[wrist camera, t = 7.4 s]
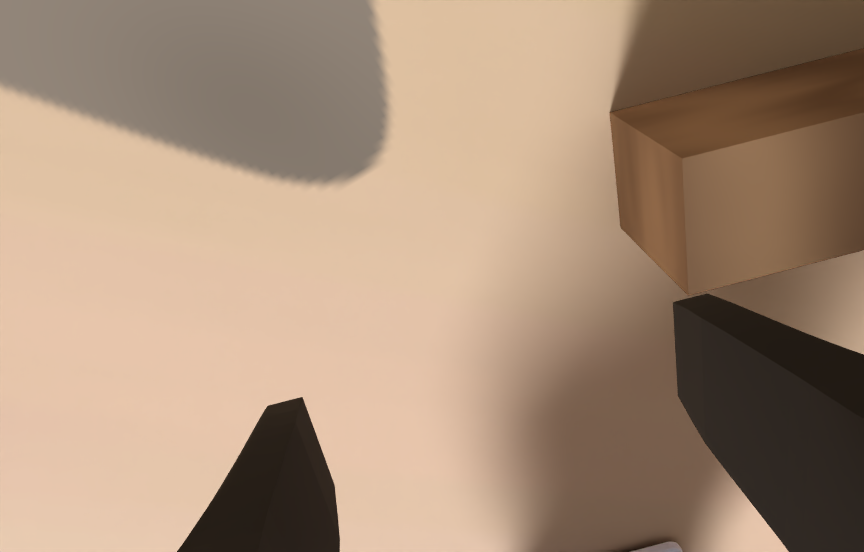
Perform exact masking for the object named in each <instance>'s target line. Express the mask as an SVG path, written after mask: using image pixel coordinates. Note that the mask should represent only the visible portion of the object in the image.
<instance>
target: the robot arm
mask: <svg viewBox="0 0 864 552" xmlns="http://www.w3.org/2000/svg"><path fill="white" fill-rule="evenodd" d="M673 312H674V331H675V349H676V368H677V387H678V397H679V398H680V400H681V402H682V404H683V406H684V407H685V409H686V411H687V413H688V415H689V416H690V418H691V420H692V422H693V423H694V425H695V427H696V428H697V430H698V432H699V433H700V435H701V437H702V438H703V440H704V442H705V443H706V445H707V446H708V447H709V449H710V450H711V451H712V453H713V454H714V455H715V457H716V458H717V459H718V461H719V462H720V463H721V464H722V466H723V467H724V468H725V470H726V471H727V472H728V474H729V475H730V476H731V478H732V479H733V480H734V481H735V483H736V484H737V485H738V487H739V488H740V489H741V490H742V492H743V493H744V494H745V495H746V497H747V498H748V499H749V501H750V502H751V503H752V504H753V506H754V507H755V508H756V510H757V511H758V512H759V513H760V515H761V516H762V517H763V519H764V520H765V521H766V522H767V524H768V525H769V526H770V527H771V529H772V530H773V531H774V533H775V534H776V535H777V536H778V538H779V539H780V540H781V542H782V543H783V544H784V545H785V547H786V548H787V550H788V551H789V552H864V355H863V354H860V353H858V352H855V351H852V350H849V349H846V348H843V347H841V346H838V345H835V344H832V343H830V342H827V341H824V340H822V339H819V338H817V337H814V336H811V335H809V334H806V333H804V332H801V331H799V330H796V329H794V328H791V327H789V326H786V325H784V324H782V323H779V322H777V321H774V320H772V319H770V318H767V317H765V316H762V315H760V314H758V313H755V312H753V311H750V310H748V309H745V308H743V307H741V306H738V305H736V304H733V303H731V302H728V301H726V300H723V299H720V298H718V297H715V296H712V295H709V294H704V295H700V296H696V297H692V298H688V299H684V300H680V301H676V302H673ZM339 550H340V537H339V526H338V514H337V505H336V495H335V486H334V483H333V480H332V477H331V474H330V472H329V469H328V466H327V463H326V461H325V458H324V455H323V452H322V450H321V447H320V444H319V441H318V439H317V436H316V433H315V430H314V428H313V425H312V422H311V419H310V417H309V414H308V411H307V408H306V406H305V403H304V400H303V397H300V398H297V399H293V400H289V401H285V402H281V403H277V404H273V405H269V406H267V408H266V409H265V411H264V412H263V414H262V416H261V417H260V419H259V421H258V423H257V424H256V426H255V428H254V430H253V432H252V433H251V435H250V437H249V439H248V441H247V442H246V444H245V446H244V448H243V449H242V451H241V453H240V455H239V456H238V458H237V460H236V462H235V463H234V465H233V467H232V468H231V470H230V472H229V473H228V475H227V477H226V478H225V480H224V482H223V483H222V485H221V487H220V488H219V490H218V492H217V493H216V495H215V497H214V498H213V500H212V501H211V503H210V504H209V506H208V507H207V509H206V510H205V512H204V513H203V515H202V516H201V518H200V519H199V521H198V522H197V524H196V525H195V527H194V528H193V530H192V531H191V533H190V534H189V536H188V537H187V539H186V540H185V541H184V543H183V544H182V546H181V547H180V548H179V550H178V551H177V552H339ZM631 552H683V551H682V549H681V547H680V546H679V544H677V543H676V542H665V543H661V544H657V545H653V546H650V547H646V548H642V549H639V550H635V551H631Z"/></svg>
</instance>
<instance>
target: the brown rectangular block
mask: <svg viewBox="0 0 864 552" xmlns="http://www.w3.org/2000/svg"><path fill="white" fill-rule="evenodd" d="M610 121H611V132H612V142H613V153H614V163H615V173H616V184H617V194H618V205H619V215H620V226H621V229H622V230H623V231H624V232H625V233H626V234H627V235H628V236H629V237H630V238H631V239H632V240H633V241H634V242H635V243H636V244H637V245H638V246H639V247H640V248H641V249H642V250H643V251H644V252H645V253H646V254H647V255H648V256H649V257H650V258H651V259H652V260H653V261H654V262H655V263H656V264H657V265H658V266H659V267H660V268H661V269H662V270H663V271H664V272H665V273H666V274H667V275H668V276H669V277H670V278H671V279H672V280H673V281H674V282H675V283H676V284H677V285H678V286H679V287H680V288H681V289H682V290H683V291H684V292H685V293H686V294H687V295H688V296H689V295H693V294H697V293H701V292H705V291H708V290H712V289H716V288H720V287H724V286H728V285H732V284H735V283H739V282H743V281H747V280H751V279H755V278H758V277H762V276H766V275H770V274H774V273H778V272H781V271H785V270H789V269H793V268H797V267H801V266H804V265H808V264H812V263H816V262H820V261H824V260H827V259H831V258H835V257H839V256H843V255H847V254H850V253H854V252H858V251H862V250H864V48H863V49H859V50H855V51H851V52H847V53H843V54H839V55H835V56H831V57H827V58H823V59H819V60H815V61H812V62H808V63H804V64H800V65H796V66H792V67H788V68H784V69H780V70H776V71H772V72H768V73H764V74H760V75H756V76H752V77H748V78H744V79H740V80H736V81H732V82H728V83H724V84H720V85H716V86H712V87H708V88H704V89H700V90H697V91H693V92H689V93H685V94H681V95H677V96H673V97H669V98H665V99H661V100H657V101H653V102H649V103H645V104H641V105H637V106H633V107H629V108H625V109H621V110H617V111H613V112H610Z"/></svg>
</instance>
